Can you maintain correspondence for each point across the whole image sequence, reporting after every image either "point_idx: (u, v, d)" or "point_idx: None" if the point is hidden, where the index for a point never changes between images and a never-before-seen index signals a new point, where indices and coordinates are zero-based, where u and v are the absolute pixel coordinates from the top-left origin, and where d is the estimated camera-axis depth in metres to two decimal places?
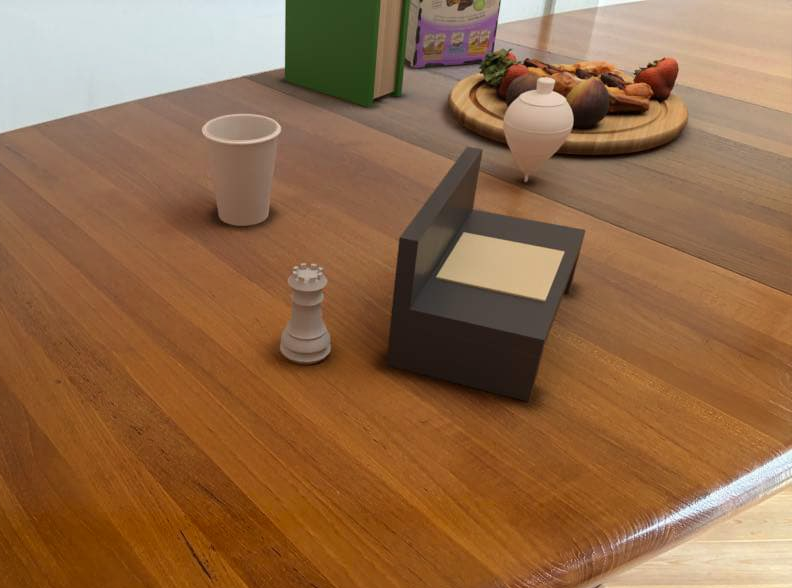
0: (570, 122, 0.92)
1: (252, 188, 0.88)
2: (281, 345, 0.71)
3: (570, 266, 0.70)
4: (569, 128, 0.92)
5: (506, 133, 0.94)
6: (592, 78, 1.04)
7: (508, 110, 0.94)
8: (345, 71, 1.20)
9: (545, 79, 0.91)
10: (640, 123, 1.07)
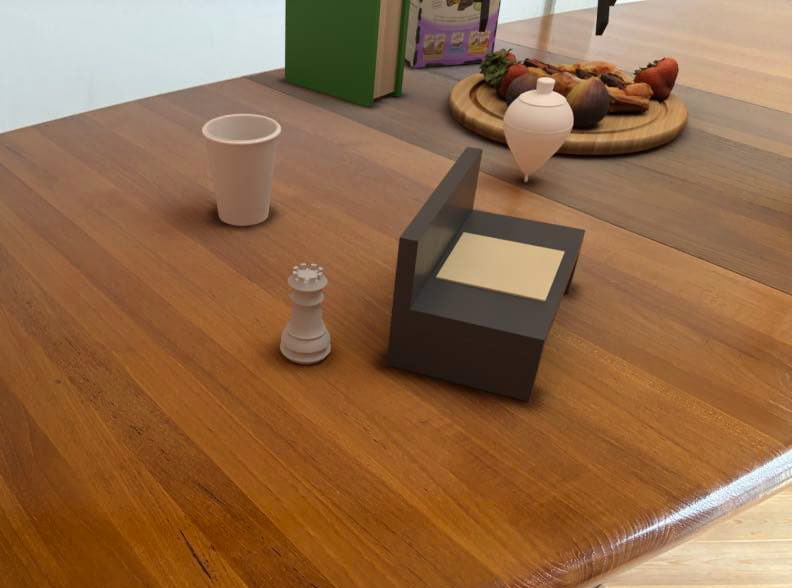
0: (570, 122, 0.92)
1: (252, 188, 0.88)
2: (281, 345, 0.71)
3: (570, 266, 0.70)
4: (569, 128, 0.92)
5: (506, 133, 0.94)
6: (592, 78, 1.04)
7: (508, 110, 0.94)
8: (345, 71, 1.20)
9: (545, 79, 0.91)
10: (640, 123, 1.07)
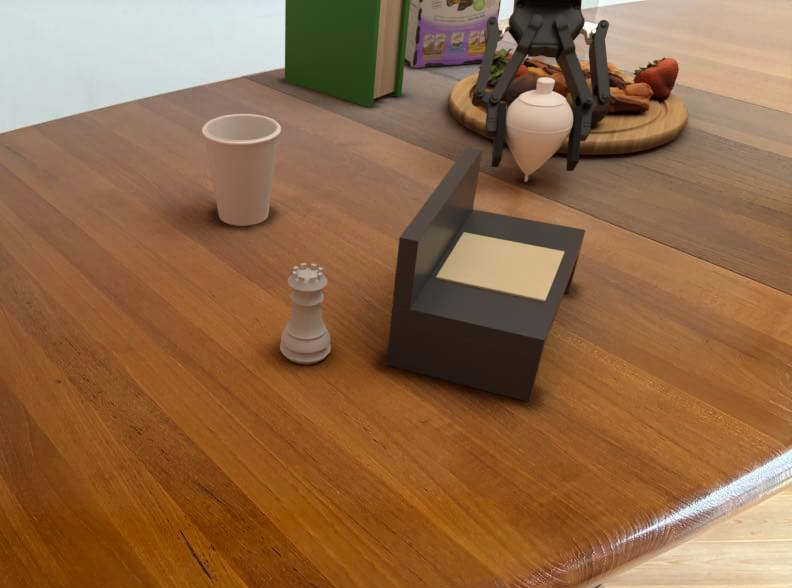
0: (570, 122, 0.92)
1: (252, 188, 0.88)
2: (281, 345, 0.71)
3: (570, 266, 0.70)
4: (569, 128, 0.92)
5: (506, 133, 0.94)
6: None
7: (508, 110, 0.94)
8: (345, 71, 1.20)
9: (545, 79, 0.91)
10: (640, 123, 1.07)
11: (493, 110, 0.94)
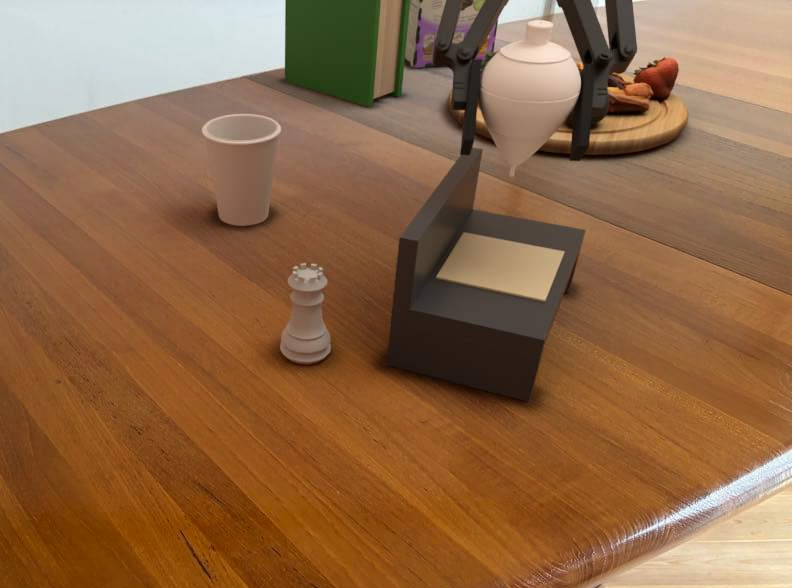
0: (577, 88, 0.61)
1: (252, 188, 0.88)
2: (281, 345, 0.71)
3: (570, 266, 0.70)
4: (574, 96, 0.62)
5: (481, 105, 0.64)
6: None
7: (484, 70, 0.63)
8: (345, 71, 1.20)
9: (538, 22, 0.61)
10: (640, 123, 1.07)
11: (462, 71, 0.64)
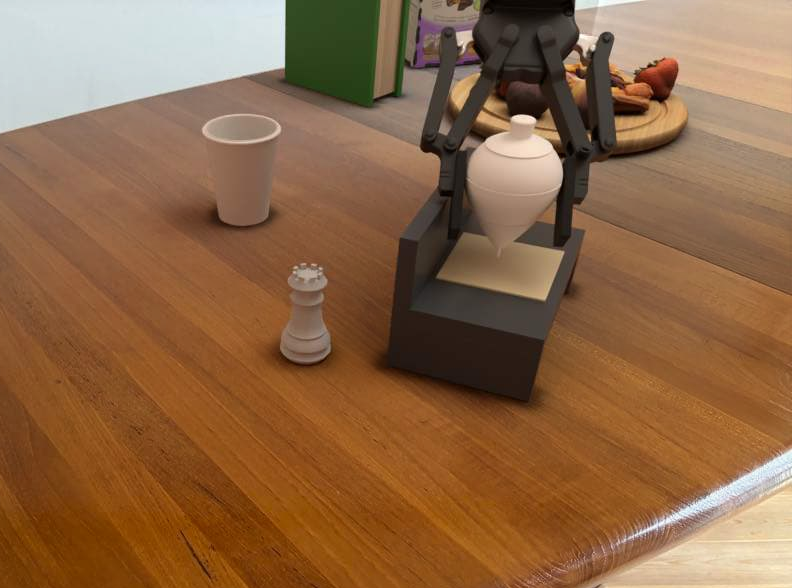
0: (559, 180, 0.64)
1: (252, 188, 0.88)
2: (281, 345, 0.71)
3: (570, 266, 0.70)
4: (557, 188, 0.64)
5: (467, 193, 0.66)
6: None
7: (470, 161, 0.65)
8: (345, 71, 1.20)
9: (522, 117, 0.63)
10: (640, 123, 1.07)
11: (448, 160, 0.66)
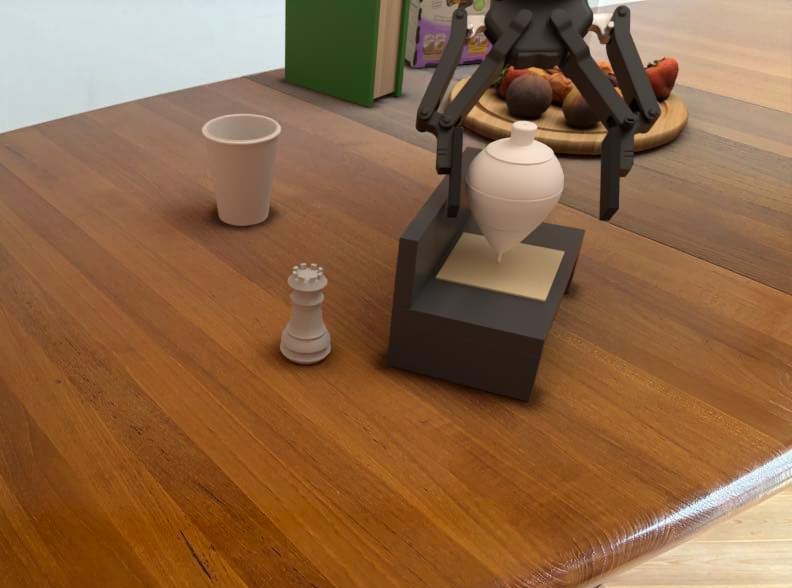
0: (559, 186, 0.64)
1: (252, 188, 0.88)
2: (281, 345, 0.71)
3: (570, 266, 0.70)
4: (558, 194, 0.64)
5: (469, 199, 0.66)
6: None
7: (471, 166, 0.66)
8: (345, 71, 1.20)
9: (523, 123, 0.63)
10: None
11: (445, 137, 0.66)
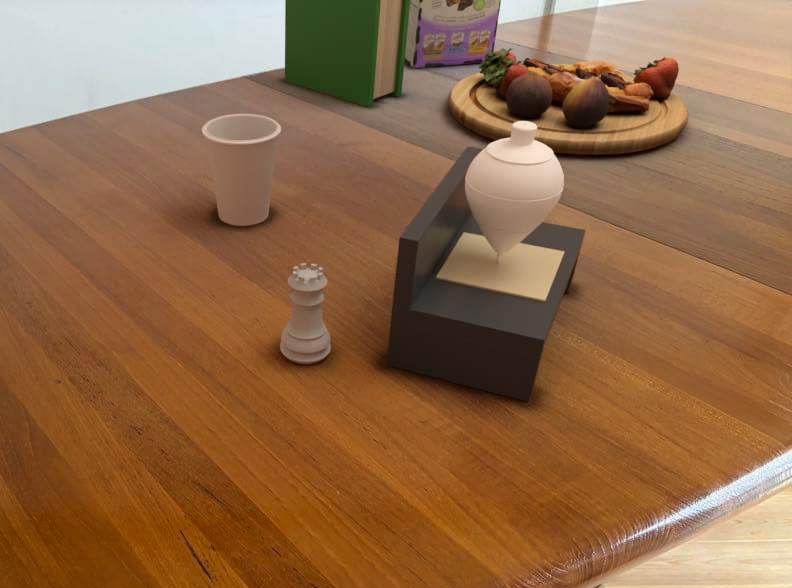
0: (559, 186, 0.64)
1: (252, 188, 0.88)
2: (281, 345, 0.71)
3: (570, 266, 0.70)
4: (558, 194, 0.64)
5: (469, 199, 0.66)
6: (592, 78, 1.03)
7: (471, 166, 0.66)
8: (345, 71, 1.20)
9: (523, 123, 0.63)
10: (640, 123, 1.07)
11: None
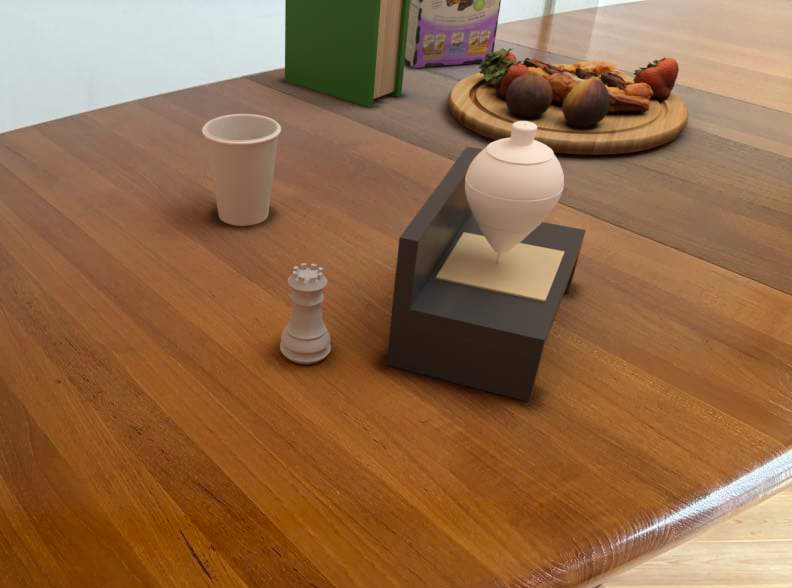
0: (559, 186, 0.64)
1: (252, 188, 0.88)
2: (281, 345, 0.71)
3: (570, 266, 0.70)
4: (558, 194, 0.64)
5: (469, 199, 0.66)
6: (592, 78, 1.03)
7: (471, 166, 0.66)
8: (345, 71, 1.20)
9: (523, 123, 0.63)
10: (640, 123, 1.07)
11: None
